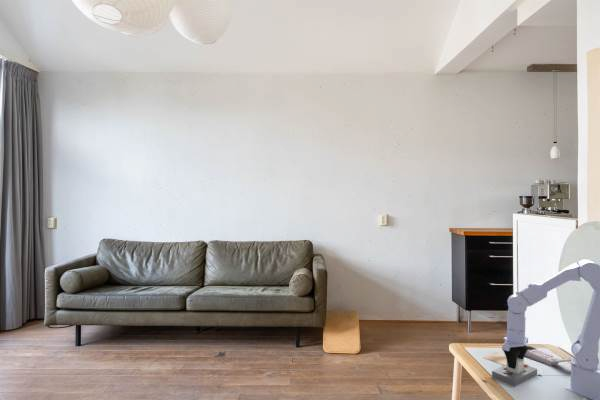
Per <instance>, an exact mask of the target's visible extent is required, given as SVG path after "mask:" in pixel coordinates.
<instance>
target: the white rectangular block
mask: <svg viewBox="0 0 600 400" xmlns="http://www.w3.org/2000/svg"><path fill="white" fill-rule="evenodd" d="M524 363H525V359H520V358H517V363H516V368H515V369H513V368H510V367H508V363H507V371H510V372H512V373H515V374H518V375H520V374H522V373H524Z"/></svg>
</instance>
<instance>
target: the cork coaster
mask: <svg viewBox="0 0 600 400" xmlns="http://www.w3.org/2000/svg"><path fill="white" fill-rule="evenodd" d="M483 359H484V360H485V359H486V360H488V361H491V362H494V363H496V364H498V365H499V364H500V365H501V366H505V365H507V359H506V356H505V354H502V353H499V352H496V351H495V352H493V353H491V354H488V355H486V356H483Z"/></svg>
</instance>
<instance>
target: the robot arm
mask: <svg viewBox="0 0 600 400" xmlns="http://www.w3.org/2000/svg"><path fill="white" fill-rule="evenodd" d="M581 278H582V279H583V280H584V281H586V282H587V283H588V284H589V285H590V287H591V288H592V289H593V292H592V296H591V299H590V302H589V307H588V309H587V311H586V312H587V313H586V316H585V319H584V323H583V326H582V329H581V333H580V334H579V335H578V336H577V340H576V341H575V342H573V344H571V348H570V350H571V353H572V355H573V356H574V357H572V358H573V360H571V361H570V385H567V386H566V387H565V388H564V389H565V390H567V391H569V392H572V393H576V394H578V395H581V396H583V397H585V398H587V399H589V400H600V369H599V366H598V365H599V364H600V359H599V342H600V265H599V264H598V263H596V262H595V261H594V260H592V259H589V258H585V259H584V258H583V259H581V260H579V261H577V262H574V263H572V264H570V265H568V266H567V267H565V268H563V269H562V270H560V271H559V272H557V273H556V274H554V275H553V276H551V277H549V278H548V279H546V280H545V281H542V282H541V283H538V282H533V283H528V284H527V287H525V288H524V289H521V290H520V291H518V290H517V291H516V292H515V294H511V295H509V296H508V298H507V301H506V302H507V306H508V307H507V308H508V309H507V316H506V317H507V318H506V336H505V337H503V341H504V343H502V346H501V347H502V348H501V349H502V351H503V353H504V355H505V356H506V359H507V363H508V367H510V368H513V369H515V368H516V363H517V358H520V359H523V360H525V357H526V356H525V354H526V352H527V351H528V349H529V346H530V345H528V346H526V344H529V337H526V312H527V308H528V307H531V306H533V305H535V304H537V303H538V302H541V301H542V300H544V299H546V298H547V297H548V293H549V292H550V291H552V290H554V289H556V288H558V287H560V286H561V285H564V284H565V283H567V282H569V281H575V282H582V279H581Z"/></svg>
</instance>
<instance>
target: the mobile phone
mask: <svg viewBox="0 0 600 400" xmlns="http://www.w3.org/2000/svg"><path fill="white" fill-rule="evenodd" d="M526 346H529V349H528V351H527V352H526V354H525V356H524V357H527V358H529V359H532V360H534V361H537V362H539V363H541V364H544V365H545V366H549V367H553V366H557V365H559V363H562V362H563V363H564V362H565V363H566V362H571V360H573V358H574V357H569V358H561V359H560V358H558V357H555V356H553V355H552V354H551V355H550V354H548V353H546V352H543V351H542V350H539V349H538V348H536V347H533V346H531V345H526Z"/></svg>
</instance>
